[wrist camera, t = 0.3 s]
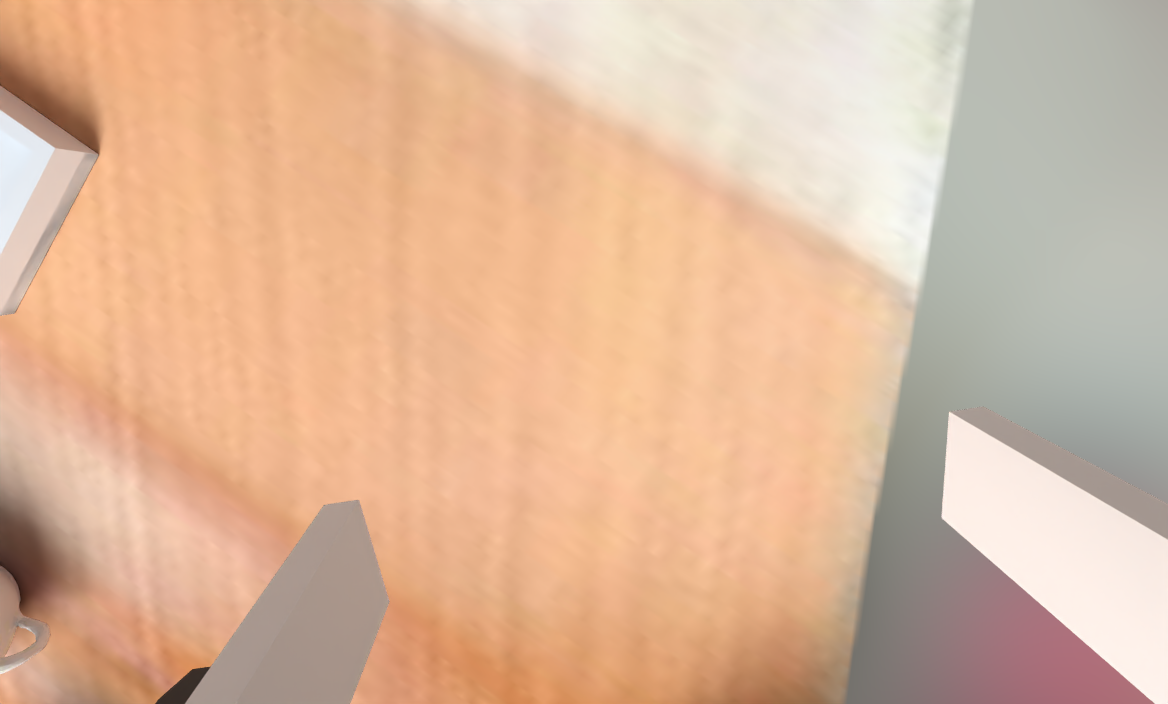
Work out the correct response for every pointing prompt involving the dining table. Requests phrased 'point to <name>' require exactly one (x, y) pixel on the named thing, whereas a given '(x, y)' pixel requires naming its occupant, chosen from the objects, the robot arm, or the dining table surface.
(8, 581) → the teacup
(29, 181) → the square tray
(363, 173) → the dining table surface
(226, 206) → the dining table surface
